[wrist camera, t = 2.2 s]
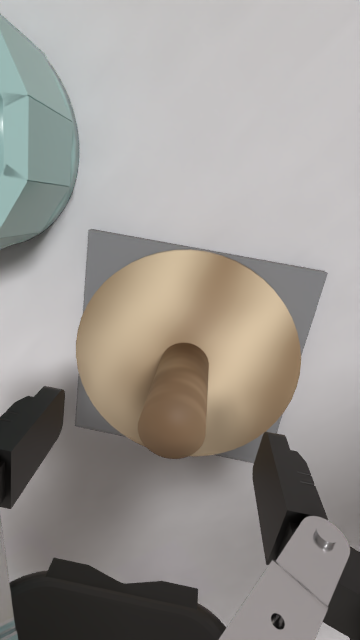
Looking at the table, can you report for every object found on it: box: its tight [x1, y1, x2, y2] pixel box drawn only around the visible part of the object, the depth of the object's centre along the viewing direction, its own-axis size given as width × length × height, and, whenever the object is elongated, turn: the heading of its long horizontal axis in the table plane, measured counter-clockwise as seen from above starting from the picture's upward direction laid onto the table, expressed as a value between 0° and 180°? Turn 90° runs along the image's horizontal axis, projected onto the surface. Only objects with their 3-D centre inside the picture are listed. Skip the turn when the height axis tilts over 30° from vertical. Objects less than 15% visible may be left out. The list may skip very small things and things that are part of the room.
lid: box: [76, 249, 301, 459], centre depth 17 cm, size 13×13×7 cm
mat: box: [75, 229, 327, 463], centre depth 20 cm, size 13×13×1 cm
